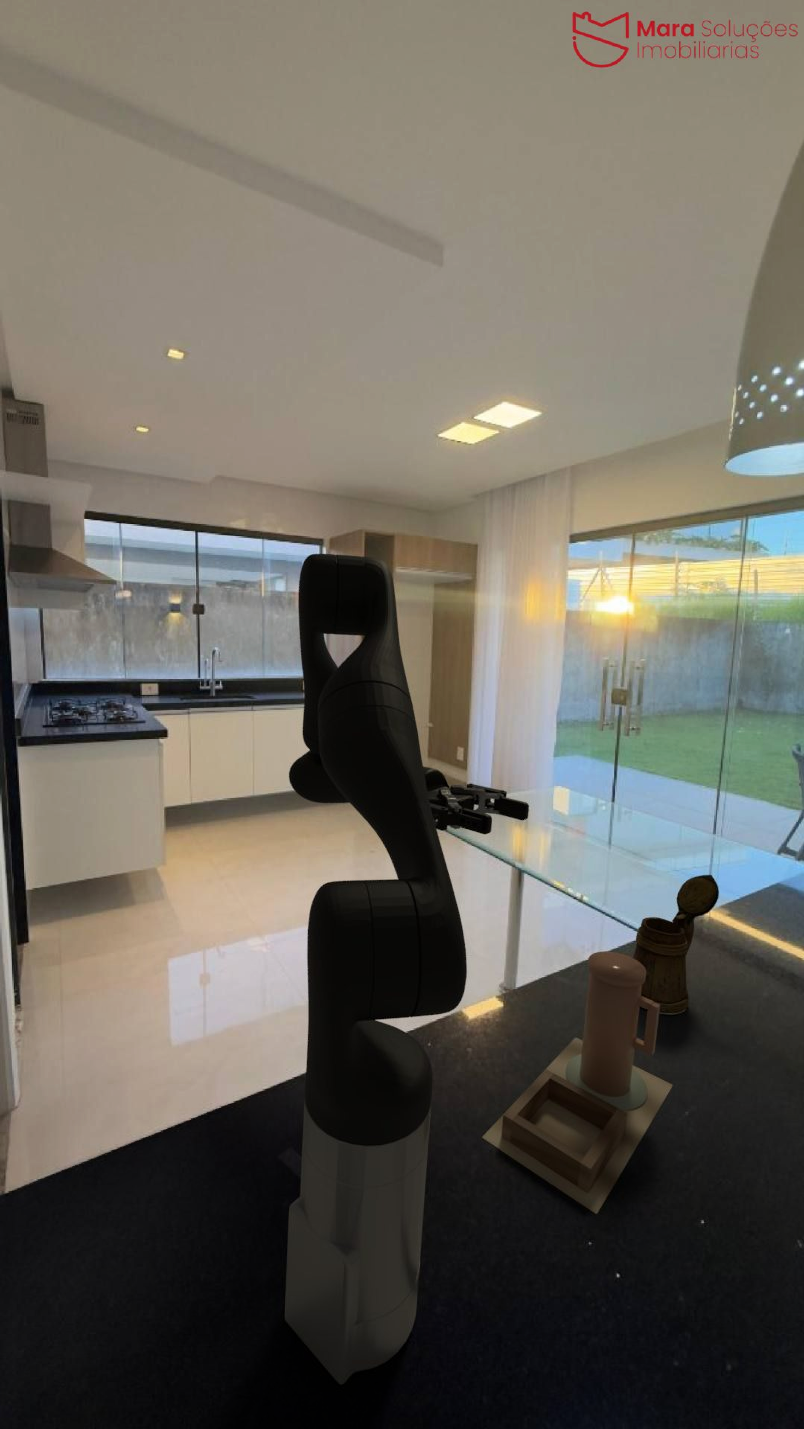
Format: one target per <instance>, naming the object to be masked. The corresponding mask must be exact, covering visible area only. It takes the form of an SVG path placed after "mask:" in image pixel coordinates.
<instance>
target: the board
mask: <svg viewBox="0 0 804 1429" xmlns="http://www.w3.org/2000/svg"><path fill="white" fill-rule="evenodd" d="M582 1044H583V1039H580V1038H577V1037H574V1038H573V1040H571V1042H570V1043H569V1044H568V1045H567V1046H566V1047H565V1048H564V1049H563V1050H562V1051H561V1052H560V1054H559V1055H557V1057H556V1058H555V1059H554V1060H553V1061H552V1062H551V1063H550V1064H549V1065H548V1066H547V1067H546V1068H545V1069H544V1071H542V1072H541V1073H540V1075H538V1077H537V1078H536V1079H535V1080H534V1081H533V1082H532V1083H531V1084H530V1085H529V1086H528V1087H527V1088H526V1089H525V1090H524V1092H523V1093H522V1094H521V1095H519V1097H518V1098H517V1099H516V1101H515V1102H513V1103H512V1105H511V1106H510V1107H509V1108H508V1109H507V1110H506V1111H505V1112H504V1113H503V1114H502V1115H501V1116H500V1117H499V1119H498V1120H497V1121H496V1122H495V1123H494V1124H493V1125H492V1126H491V1127H490V1128H489V1129H488V1130H487V1131H486V1132H485V1133H484V1135H482V1136H481V1138H482V1139H484V1140H485V1141H486V1142H488V1143H489V1144H491V1145H492V1146H494V1147H495V1148H497V1149H498V1150H499V1151H501V1152H503V1153H505V1154H506V1155H507V1156H508V1157H510V1158H512V1159H513V1160H515V1161H516V1162H518V1163H519V1164H521V1165H522V1166H524V1167H525V1168H527V1169H528V1170H529V1171H531V1172H533V1173H534V1174H535V1175H537V1176H539V1177H540V1178H542V1179H543V1180H544V1181H546V1182H548V1183H549V1184H550V1185H552V1187H553V1186H554V1187H555V1188H556V1189H558V1190H560V1191H561V1192H562V1193H564V1194H565V1195H567V1196H568V1197H569V1198H571V1199H573V1200H575V1201H576V1202H577V1203H579V1204H581V1205H582V1206H583V1207H585V1208H586V1209H588V1210H589V1211H591V1212H592V1213H594V1214H595V1215H597V1214H599V1211H600V1209H601V1208H602V1206H603V1204H604V1202H605V1201H606V1199H607V1198H608V1196H609V1194H610V1193H611V1191H612V1189H613V1188H614V1186H615V1184H616V1183H617V1181H618V1179H619V1177H620V1175H621V1174H622V1173H623V1171H624V1169H625V1167H626V1165H628V1162H629V1160H630V1159H631V1158H632V1156H633V1153H634V1152H635V1150H636V1149H637V1147H638V1145H639V1144H640V1142H641V1140H642V1138H643V1137H644V1135H645V1134H646V1131H648V1129H649V1127H650V1125H651V1123H652V1121H653V1120H654V1118H655V1117H656V1115H657V1113H658V1112H659V1110H660V1108H661V1107H662V1105H663V1104H664V1102H665V1099H666V1098H667V1096H668V1094H669V1093H670V1091H671V1090H672V1088H673V1086H674V1085H673V1084H672V1083H670V1082H668V1081H665V1080H663V1079H662V1078H660V1077H658V1076H655V1075H654V1074H651V1073H649V1072H647V1071H645V1070H643V1069H641V1068H639V1067H637V1066H635V1065H633V1068H632V1076H631V1085H630V1090H629V1092H628V1093H627V1094H625V1095H623V1096H620V1097H609V1096H604V1095H601V1094H599V1093H596V1092H594V1091H593V1090H591V1089H590V1088H589V1087H587V1086H586V1085H585V1084H584V1082H583V1081H582V1080H581V1077H580V1064H581V1054H582Z"/></svg>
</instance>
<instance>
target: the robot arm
mask: <svg viewBox="0 0 804 1429" xmlns="http://www.w3.org/2000/svg"><path fill="white" fill-rule="evenodd" d="M393 578H394V577H393V575H392V572H391V569H390V567H389V566H388V564H387V563H386V562H385V561H383V560H382V559H379V558H375V557H371V556H359V555H348V554H335V553H332V554H331V553H312V554H310V555H308V556H307V557H305V559H304V561H303V563H302V565H301V570H300V574H299V581H298V593H297V594H298V595H297V596H298V599H297V600H298V602H297V603H298V605H297V606H298V609H297V610H298V631H299V644H300V645H299V646H300V659H301V660H300V661H301V669H302V677H303V678H302V680H303V690H304V691H303V695H304V699H303V700H304V701H303V702H304V703H303V714H302V715H303V716H302V739H303V743H304V745H305V746H306V748H308V749H309V750H308V751H306V752H305V753H304V754H303V755H302V756H300V757H298V759H296V760H295V761H294V762H293V763H292V765H291V766H290V768H289V771H288V779H289V780H288V781H289V784H290V786H291V787H292V789H293V790H294V792H295V793H296V794H298V795H299V796H300V797H301V798H302V799H305V800H307V801H309V802H313V803H318V804H348V803H349V804H350V805H351V806H352V807H353V808H354V809H355V810H356V811H357V813H359V814H360V815H361V817H362V818H363V819H364V820H365V821H366V822H367V823H368V825H369V826H370V827H371V828H372V830H373V831H374V833H376V835H377V837H378V839H380V841H381V842H382V844H383V846H384V848H385V850H386V852H387V854H388V856H389V858H390V861H391V863H392V866H393V868H394V872H395V874H396V877H397V878H395V879H393V878H391V879H389V878H388V879H363V880H362V879H355V880H354V879H351V880H335V881H334V880H333V881H328V882H326V883H323V884H322V885H321V886H320V887H319V888H318V889H317V891H316V892H315V894H314V896H313V899H312V901H311V906H310V910H309V914H308V922H307V923H308V924H307V939H306V940H307V948H306V957H307V958H306V959H307V960H306V962H307V964H306V965H307V998H308V999H307V1000H308V1001H307V1003H308V1004H307V1008H308V1011H307V1012H308V1013H307V1015H308V1016H307V1019H308V1020H307V1021H308V1022H307V1023H308V1024H307V1048H306V1067H305V1069H306V1070H305V1080H304V1081H305V1084H304V1101H303V1102H304V1103H303V1104H304V1105H303V1126H302V1148H301V1165H300V1166H301V1168H300V1190H299V1191H300V1192H299V1193H300V1195H299V1197H298V1198H297V1199H295V1200H294V1201H293V1202H292V1203H291V1204H290V1205H289V1210H288V1223H287V1224H288V1226H287V1227H288V1228H287V1229H288V1230H287V1247H286V1248H287V1251H286V1252H287V1253H286V1255H287V1256H286V1275H285V1276H286V1277H285V1298H284V1300H285V1301H284V1303H285V1304H284V1320H285V1322H286V1323H287V1324H288V1325H289V1327H290V1328H291V1330H293V1331H294V1333H295V1334H296V1335H297V1336H298V1338H299V1339H300V1340H301V1341H302V1342H303V1343H304V1345H305V1346H306V1347H307V1348H308V1349H309V1350H310V1352H311V1353H312V1354H313V1355H314V1356H315V1358H316V1359H317V1360H318V1361H319V1362H320V1363H321V1365H322V1366H323V1367H324V1368H325V1369H326V1371H328V1374H330V1375H331V1376H332V1378H333V1379H334V1380H335V1381H336V1382H337V1383H338V1385H344V1384H345V1383H346V1382H347V1380H348V1379H349V1378H350V1377H352V1376H353V1375H354V1373H357V1372H360V1371H365V1370H371V1369H375V1368H377V1367H378V1366H380V1365H382V1364H385V1363H386V1362H388V1361H389V1360H390V1359H392V1358H393V1357H394V1356H395V1355H396V1354H397V1353H398V1352H399V1351H400V1350H401V1349H402V1347H403V1346H404V1345H405V1343H406V1342H407V1340H408V1339H409V1336H410V1335H411V1332H412V1330H413V1329H414V1328H413V1327H414V1323H415V1320H416V1316H417V1307H418V1306H417V1305H418V1304H417V1303H418V1295H419V1294H418V1293H419V1292H418V1291H419V1281H420V1280H419V1278H420V1265H421V1253H422V1252H421V1251H422V1236H423V1235H422V1234H423V1224H424V1223H423V1220H424V1208H425V1192H426V1180H427V1179H426V1178H427V1163H428V1151H429V1150H428V1149H429V1139H430V1126H431V1125H430V1124H431V1113H432V1111H431V1110H432V1098H433V1097H432V1096H433V1087H434V1086H433V1084H434V1079H433V1077H434V1076H433V1066H432V1063H431V1060H430V1057H429V1055H428V1053H427V1052H426V1050H425V1049H424V1047H423V1046H422V1044H420V1042H419V1041H418V1040H417V1039H415V1038H414V1037H413V1036H412V1035H410V1034H409V1033H408V1032H405V1031H404V1030H402V1029H400V1028H398V1027H396V1026H393V1025H391V1024H388V1023H385V1022H382V1020H392V1019H393V1020H394V1019H405V1018H407V1019H408V1018H414V1017H415V1018H417V1017H428V1016H436V1015H437V1016H438V1015H444V1014H447V1013H450V1012H452V1011H454V1010H455V1009H457V1007H458V1006H459V1004H460V1003H461V1002H462V999H463V998H464V994H465V990H466V984H467V973H468V965H467V949H466V943H465V942H466V941H465V935H464V929H463V923H462V918H461V913H460V910H459V905H458V903H457V897H456V894H455V890H454V887H453V883H452V880H451V875H450V873H449V868H448V866H447V865H448V864H447V862H446V859H445V854H444V851H443V848H442V844H441V840H440V837H439V833H438V831H443V832H444V831H447V830H448V827H450V828H451V829H454V830H458V829H464V830H468V831H472V832H476V833H478V834H482V835H487V834H491V832H492V827H493V817H492V815H491V814H493V815H494V814H495V815H499V816H504V817H507V818H510V819H511V818H512V819H515V820H519V821H525V820H527V819H528V818H529V811H530V810H529V809H530V805H529V803H528V802H526V801H522V800H518V799H513V798H510V797H507V793H508V792H507V791H506V790H503V789H497V788H492V787H488V786H483V785H480V784H473V783H472V782H471V783H470V782H469V783H466V787H465V786H463V785H460V784H450V785H449V783H448V782H447V779H446V778H447V777H445V775H444V774H443V773H442V772H441V771H440V770H438V769H435V768H431V767H428V766H424V763H423V758H422V751H421V745H420V738H419V731H418V725H417V720H416V715H415V710H414V706H413V701H412V697H411V693H410V688H409V683H408V679H407V675H406V671H405V665H404V661H403V656H402V651H401V645H400V642H401V641H400V635H399V634H400V633H399V623H398V613H397V601H396V592H395V582H394V579H393ZM325 635H338V636H339V635H343V636H358V637H361V636H362V637H363V639H362V641H361V642H360V644H359V645H358V646H357V647H356V648H355V649H354V650H353V652H351V654H349V655H348V656H347V657H346V658H345V660H343V662H341V664H340V665H337V663H336V662H335V660H334V659H333V657H332V655H331V654H330V652H329V649H328V647H327V643H326V640H325ZM491 800H493V802H492V801H491ZM475 805H476V806H477V808H475ZM380 1020H381V1021H380Z"/></svg>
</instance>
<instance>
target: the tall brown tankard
mask: <svg viewBox="0 0 804 1429" xmlns="http://www.w3.org/2000/svg"><path fill="white" fill-rule="evenodd" d="M587 960H588V961H587V969H588V971H589V977H588V978H589V979H588V987H587V998H586V1008H585V1016H584V1017H585V1018H584V1026H583V1027H584V1028H583V1036H582V1041H583V1044H582V1054H581V1064H580V1077H581V1080H582V1081H583V1082H584V1084H585V1085H586V1086H587V1087H589V1088H590V1089H591V1090H593V1091H594V1092H596V1093H599V1094H601V1095H604V1096H609V1097H620V1096H623V1095H625V1094H627V1093H628V1092H629V1090H630V1085H631V1076H632V1068H633V1066H634V1057H635V1049H636V1050H637V1051H640V1052H642V1053H644V1054H648V1055H650V1056H653V1055H654V1053H655V1050H656V1042H657V1034H658V1026H659V1016H660V1014H659V1010H660V1004H657V1003H655V1002H654V1001H652V1000H650V999H647V998H645V997H642V996H641V989H642V984H644V982H645V980H646V969H645V967H644V966H643V965H642V964H641V963H640V962H638V961H637V960H635V959H633V957H631V956H629V955H626V954H624V953H620V952H614V951H604V950H603V951H597V952H593V953H592V954H590V955H589V957H588V959H587ZM639 1006H640V1007H639ZM641 1007H642V1008H644V1009H647V1010H648V1011H647V1010H646V1011H647V1012H646V1013H647V1014H646V1021H645V1028H644V1029H645V1030H644V1038H643V1040H642V1039H641V1038H638V1037H637V1031H638V1025H639V1024H638V1022H639V1015H640V1008H641ZM642 1008H641V1009H642ZM644 1009H643V1010H644Z"/></svg>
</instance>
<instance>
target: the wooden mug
mask: <svg viewBox="0 0 804 1429" xmlns="http://www.w3.org/2000/svg"><path fill="white" fill-rule="evenodd" d="M719 897H720V890H719V885H718V883H717V881H716V879H715V877H714V876H713V875H712V874H702V875H697V876H693V877H690V878H688V879H687V880H686V881H685V882H684V883H683V884H682V885H681V887H680V889H679V890H678V892H677V896H676V904H677V905H676V906H677V909H678V910H677V912H676V914H675V916H674V917H673V919H672V920H669V919H665V918H661V917H656V916H650V917H644V918H643V919H642V920H641V924H640V926H639V927H637V928H638V929H637V932H636V936H635V942H636V946H635V949H634V953H633V957H632V958H633V959H635V960H637V961H638V962H640V963H641V964H642V965H643V966H644V967H645V969H646V980H645V982H644V984H642V989H641V996H642V997H645V998H647V999H650V1000H652V1001H654V1002H655V1003H657V1004H660V1010H659V1012H661V1013H679V1012H682V1011H683V1010H685V1009H686V1008H687V1007H688V1005H689V1002H690V1001H689V1000H690V999H689V997H690V996H689V990H688V986H687V985H688V984H687V954H688V953H689V950H690V947H691V945H692V942H693V936H694V931H695V920H696V918H698V917H702V916H704V915H706V914H709V913H710V912H711V911H712V909H714V907H715V906H716V905H717V902H718V899H719ZM689 1006H690V1005H689ZM688 1008H689V1007H688Z"/></svg>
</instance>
